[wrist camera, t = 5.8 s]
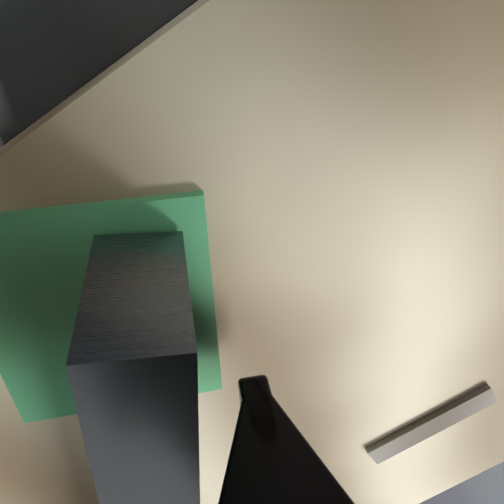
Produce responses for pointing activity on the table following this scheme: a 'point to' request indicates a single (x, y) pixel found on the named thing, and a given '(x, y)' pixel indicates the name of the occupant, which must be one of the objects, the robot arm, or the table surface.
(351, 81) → the dial board
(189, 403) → the grey long bar
